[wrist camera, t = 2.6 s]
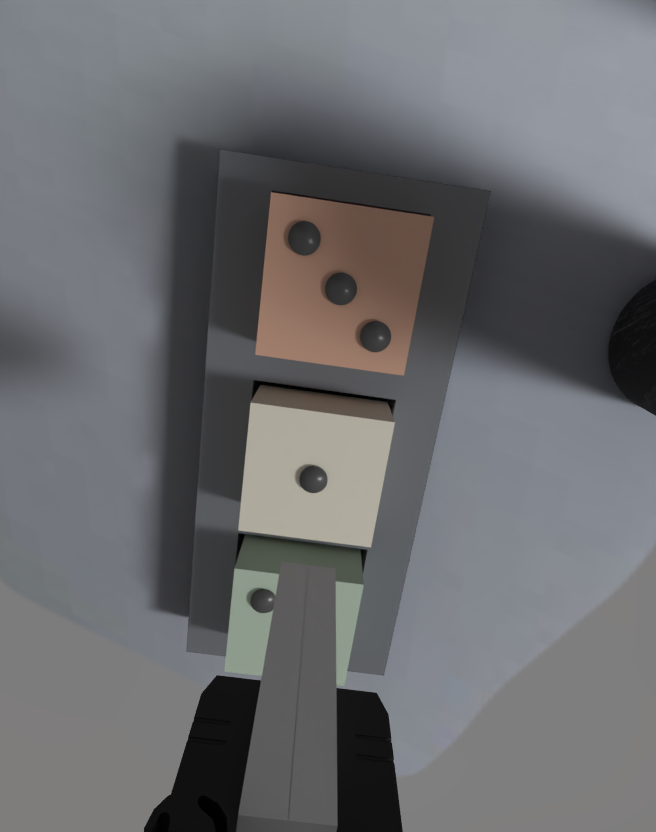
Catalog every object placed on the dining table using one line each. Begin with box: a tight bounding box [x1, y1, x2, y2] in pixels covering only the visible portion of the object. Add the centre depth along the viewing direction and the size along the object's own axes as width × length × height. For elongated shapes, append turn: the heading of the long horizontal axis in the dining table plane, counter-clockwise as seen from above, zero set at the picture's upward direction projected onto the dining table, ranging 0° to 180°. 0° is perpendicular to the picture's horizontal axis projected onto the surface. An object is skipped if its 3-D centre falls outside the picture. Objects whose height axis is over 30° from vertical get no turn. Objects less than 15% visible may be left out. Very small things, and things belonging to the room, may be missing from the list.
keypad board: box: [186, 150, 491, 675], centre depth 25 cm, size 25×11×2 cm, turn 172°
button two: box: [224, 534, 364, 686], centre depth 25 cm, size 6×6×3 cm
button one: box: [238, 385, 395, 547], centre depth 23 cm, size 6×6×3 cm
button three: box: [255, 192, 434, 376], centre depth 20 cm, size 6×6×3 cm
